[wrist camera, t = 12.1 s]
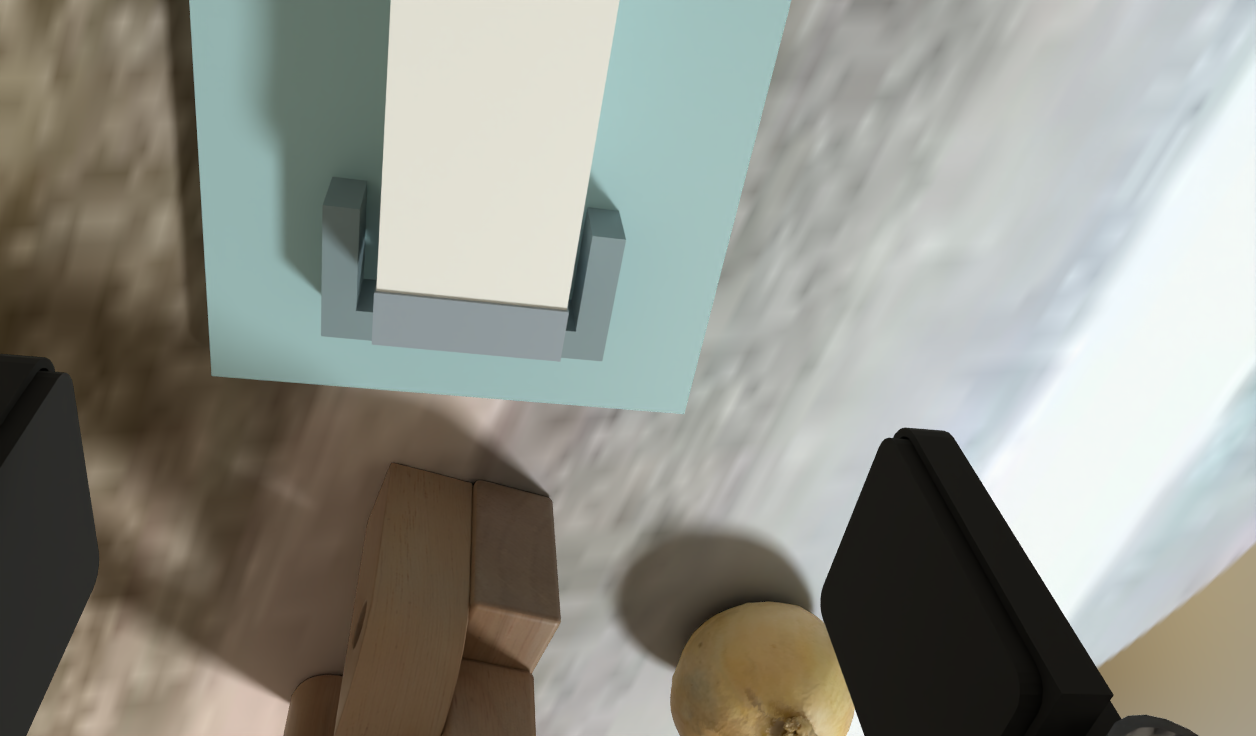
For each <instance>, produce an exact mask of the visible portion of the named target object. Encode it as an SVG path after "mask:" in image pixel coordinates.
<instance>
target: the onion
mask: <svg viewBox="0 0 1256 736" xmlns="http://www.w3.org/2000/svg"><path fill="white" fill-rule="evenodd" d="M670 705H671V713H672V717H673V720H674V723H675V726H676V728H677V730H678V732H679V735H680V736H846V735H847V732H848V731H849V728H850V725H851V722H852V719H853V715H854V709H855V708H854V705H853V702H852V699H851V696H850V693H849V691H848V688H847V685H846V682H845V679H844V677H843V674H842V671H841V668H840V665H839V663H838V660H837V657H836V654H835V651H834V649H833V646H832V643H831V640H830V637H829V635H828V632H827V629H826V626H825V623H823V622H822V621H821V620H820V619H819V618H818V617H816V616H815V615H813V614H812V613H810V612H808V611H807V610H805V609H803V608H802V607H800V606H798V605H792V604H785V603H779V602H769V601H765V602H755V603H745V604H743V605H740V606H737V607H734V608H730V609H728V610H725V611H723V612H721V613H720V614H719V613H718V614H716V615H715V616H713V617H711V618H710V619H709V620H707V621H705V622H704V623H703V624H702V626H700V627H699V628H698V629H697V630H696V631H694V633H693V634H692V636H691V637H690V639H689V640H688V642H687V643H686V645H685V647H684V649H683V651H682V654H681V657H680V659H679V662H678V664H677V667H676V669H675V673H674V675H673V678H672V687H671V697H670Z"/></svg>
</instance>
